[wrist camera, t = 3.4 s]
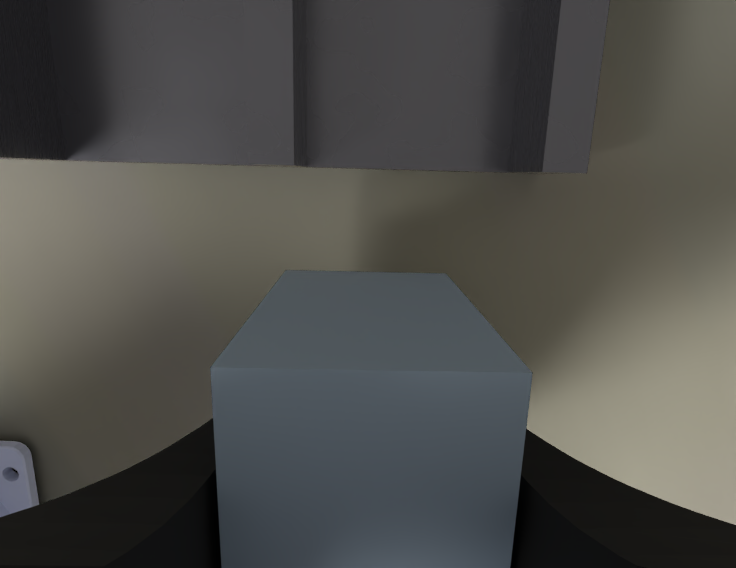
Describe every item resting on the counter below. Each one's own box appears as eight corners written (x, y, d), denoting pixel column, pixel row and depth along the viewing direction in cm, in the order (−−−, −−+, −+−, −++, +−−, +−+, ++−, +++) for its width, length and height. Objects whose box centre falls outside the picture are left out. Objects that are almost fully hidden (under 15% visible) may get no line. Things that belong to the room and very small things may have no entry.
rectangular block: (430, 513, 13) (485, 781, 7) (289, 512, 13) (233, 781, 7) (446, 273, 12) (532, 372, 6) (286, 269, 12) (210, 367, 6)
